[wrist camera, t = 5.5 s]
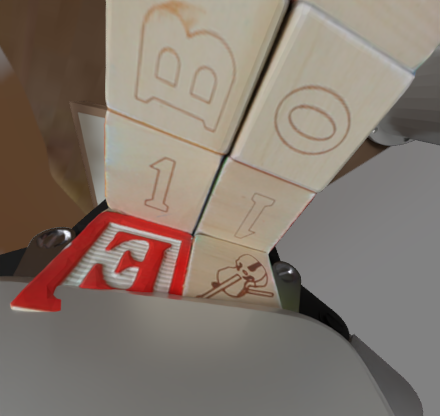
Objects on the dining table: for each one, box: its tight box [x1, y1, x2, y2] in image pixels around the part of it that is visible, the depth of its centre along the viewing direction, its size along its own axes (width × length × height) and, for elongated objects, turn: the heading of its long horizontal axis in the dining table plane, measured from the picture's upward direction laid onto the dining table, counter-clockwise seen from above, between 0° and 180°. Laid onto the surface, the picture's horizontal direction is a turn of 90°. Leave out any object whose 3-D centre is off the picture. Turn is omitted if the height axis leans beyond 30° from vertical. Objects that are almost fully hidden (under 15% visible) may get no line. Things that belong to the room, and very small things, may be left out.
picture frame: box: [69, 101, 108, 208], centre depth 30 cm, size 13×26×3 cm, turn 168°
